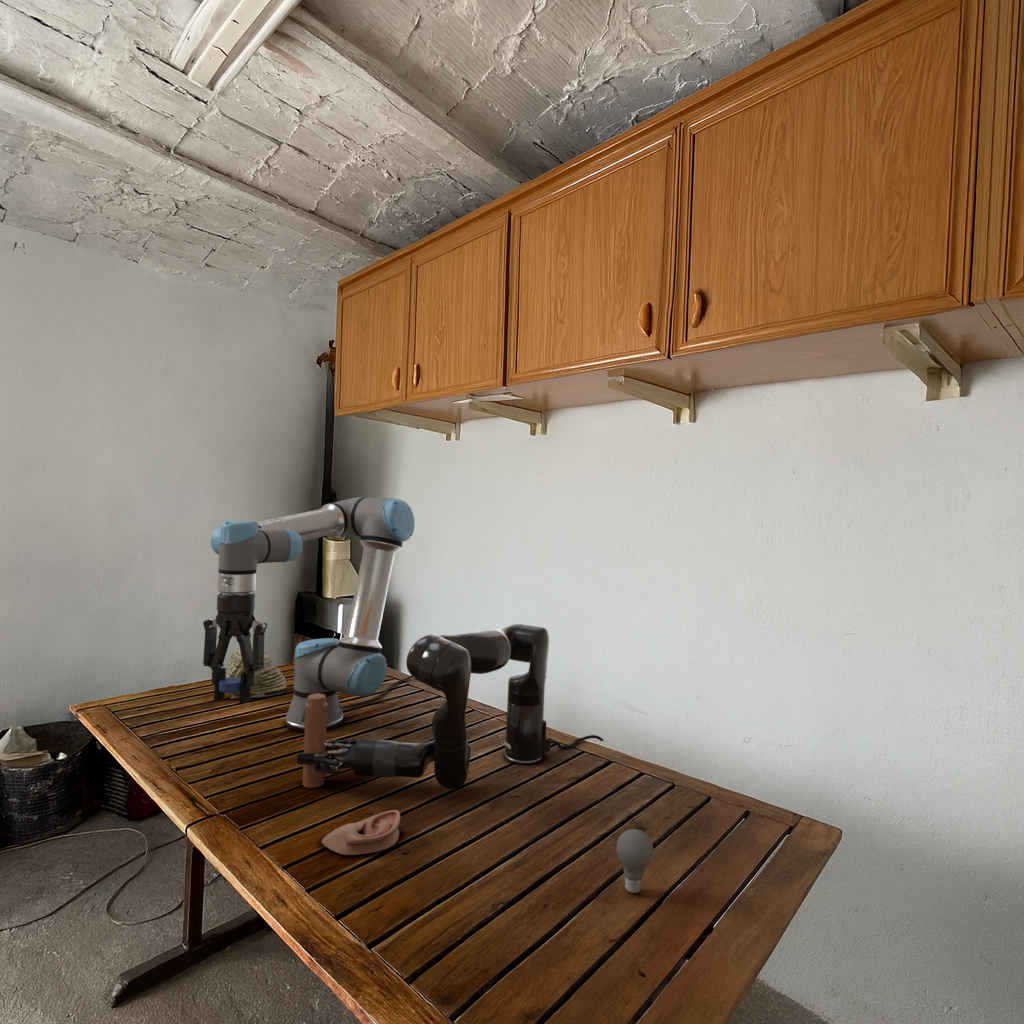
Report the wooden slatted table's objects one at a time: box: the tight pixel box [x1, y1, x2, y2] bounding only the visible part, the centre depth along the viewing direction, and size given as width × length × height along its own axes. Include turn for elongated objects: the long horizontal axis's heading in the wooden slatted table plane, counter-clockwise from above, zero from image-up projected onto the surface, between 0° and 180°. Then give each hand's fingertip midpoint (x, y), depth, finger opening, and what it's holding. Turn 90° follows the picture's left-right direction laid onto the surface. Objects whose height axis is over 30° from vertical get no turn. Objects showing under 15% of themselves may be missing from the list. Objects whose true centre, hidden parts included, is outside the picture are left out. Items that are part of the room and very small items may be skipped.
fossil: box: [225, 646, 288, 699], centre depth 198 cm, size 9×18×15 cm, turn 132°
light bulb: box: [615, 828, 654, 894], centre depth 106 cm, size 6×6×10 cm
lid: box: [219, 677, 241, 694], centre depth 136 cm, size 5×5×2 cm
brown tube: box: [302, 694, 327, 789], centre depth 140 cm, size 5×5×19 cm
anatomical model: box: [321, 809, 401, 856], centre depth 118 cm, size 13×4×12 cm
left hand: (231, 700), depth 136 cm, fingers closed on lid, 5 cm apart
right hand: (302, 753), depth 140 cm, fingers closed on brown tube, 4 cm apart
